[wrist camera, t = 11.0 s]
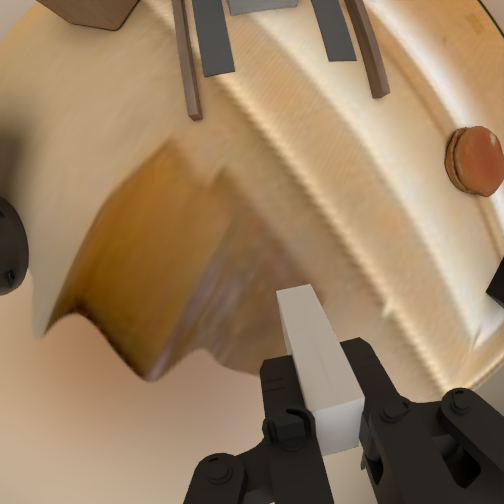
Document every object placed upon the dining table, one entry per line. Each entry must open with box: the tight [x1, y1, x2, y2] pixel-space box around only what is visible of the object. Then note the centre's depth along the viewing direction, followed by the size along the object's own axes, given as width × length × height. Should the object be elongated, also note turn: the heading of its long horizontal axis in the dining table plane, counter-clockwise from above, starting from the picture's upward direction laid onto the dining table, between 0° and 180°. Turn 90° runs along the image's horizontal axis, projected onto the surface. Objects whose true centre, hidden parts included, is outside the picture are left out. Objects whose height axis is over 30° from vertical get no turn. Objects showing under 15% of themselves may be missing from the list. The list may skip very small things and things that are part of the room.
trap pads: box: [192, 0, 357, 77], centre depth 28 cm, size 18×16×1 cm
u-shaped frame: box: [172, 0, 390, 121], centre depth 26 cm, size 22×26×4 cm
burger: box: [445, 126, 504, 197], centre depth 30 cm, size 10×9×5 cm
